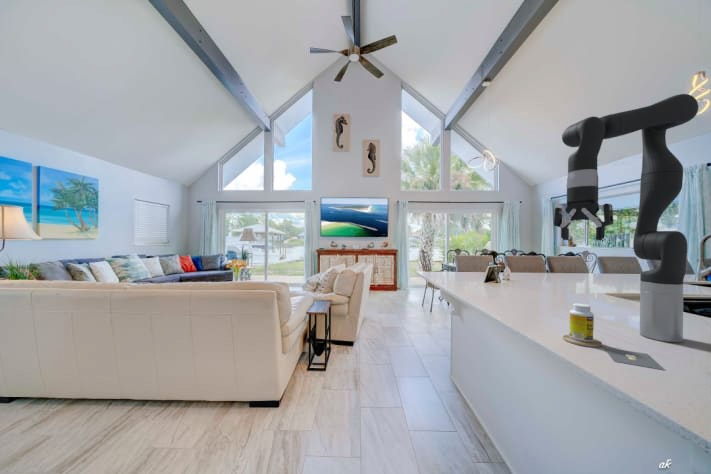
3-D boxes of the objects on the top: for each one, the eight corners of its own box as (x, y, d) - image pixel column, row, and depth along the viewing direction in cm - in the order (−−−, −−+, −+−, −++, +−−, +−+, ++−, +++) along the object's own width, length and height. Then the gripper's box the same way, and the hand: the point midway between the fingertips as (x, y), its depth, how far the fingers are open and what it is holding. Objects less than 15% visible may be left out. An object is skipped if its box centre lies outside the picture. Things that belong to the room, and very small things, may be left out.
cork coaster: (561, 334, 91) (561, 332, 91) (598, 339, 87) (598, 337, 87) (565, 343, 84) (565, 341, 84) (605, 349, 79) (605, 347, 79)
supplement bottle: (588, 344, 82) (589, 308, 82) (566, 338, 86) (566, 304, 86) (596, 340, 85) (597, 305, 85) (574, 334, 89) (574, 301, 89)
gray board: (603, 348, 81) (603, 346, 81) (647, 355, 76) (647, 353, 76) (614, 362, 71) (614, 361, 71) (665, 371, 67) (665, 369, 67)
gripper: (617, 184, 83) (617, 240, 83) (562, 191, 95) (561, 240, 95) (606, 181, 79) (605, 240, 79) (550, 188, 91) (549, 239, 91)
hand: (581, 240), depth 87 cm, fingers open, 8 cm apart
